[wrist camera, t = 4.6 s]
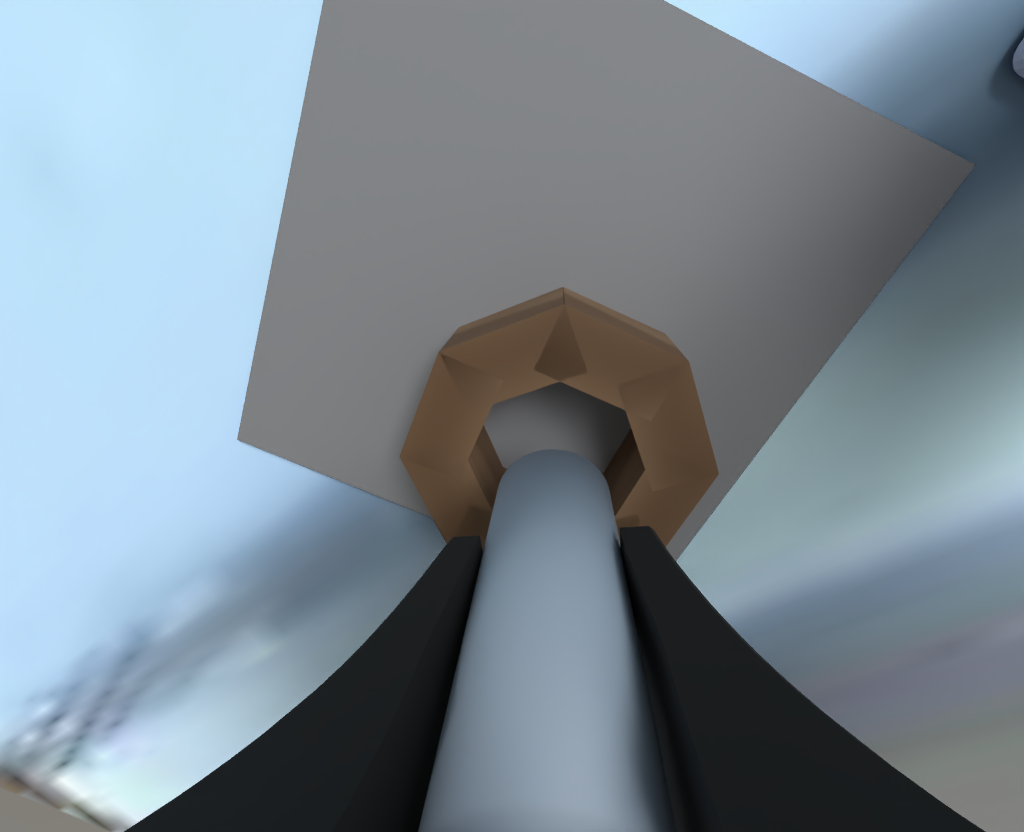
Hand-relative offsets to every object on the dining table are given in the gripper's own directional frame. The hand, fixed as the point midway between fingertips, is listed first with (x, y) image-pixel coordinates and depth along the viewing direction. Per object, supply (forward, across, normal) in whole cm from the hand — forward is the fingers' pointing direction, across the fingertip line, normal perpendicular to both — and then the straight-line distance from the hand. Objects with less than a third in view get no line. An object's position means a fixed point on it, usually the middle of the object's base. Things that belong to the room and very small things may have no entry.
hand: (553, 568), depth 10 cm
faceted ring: (+8, 0, 0) cm, 8 cm away
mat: (+8, 0, -4) cm, 9 cm away
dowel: (+2, 0, 0) cm, 3 cm away
